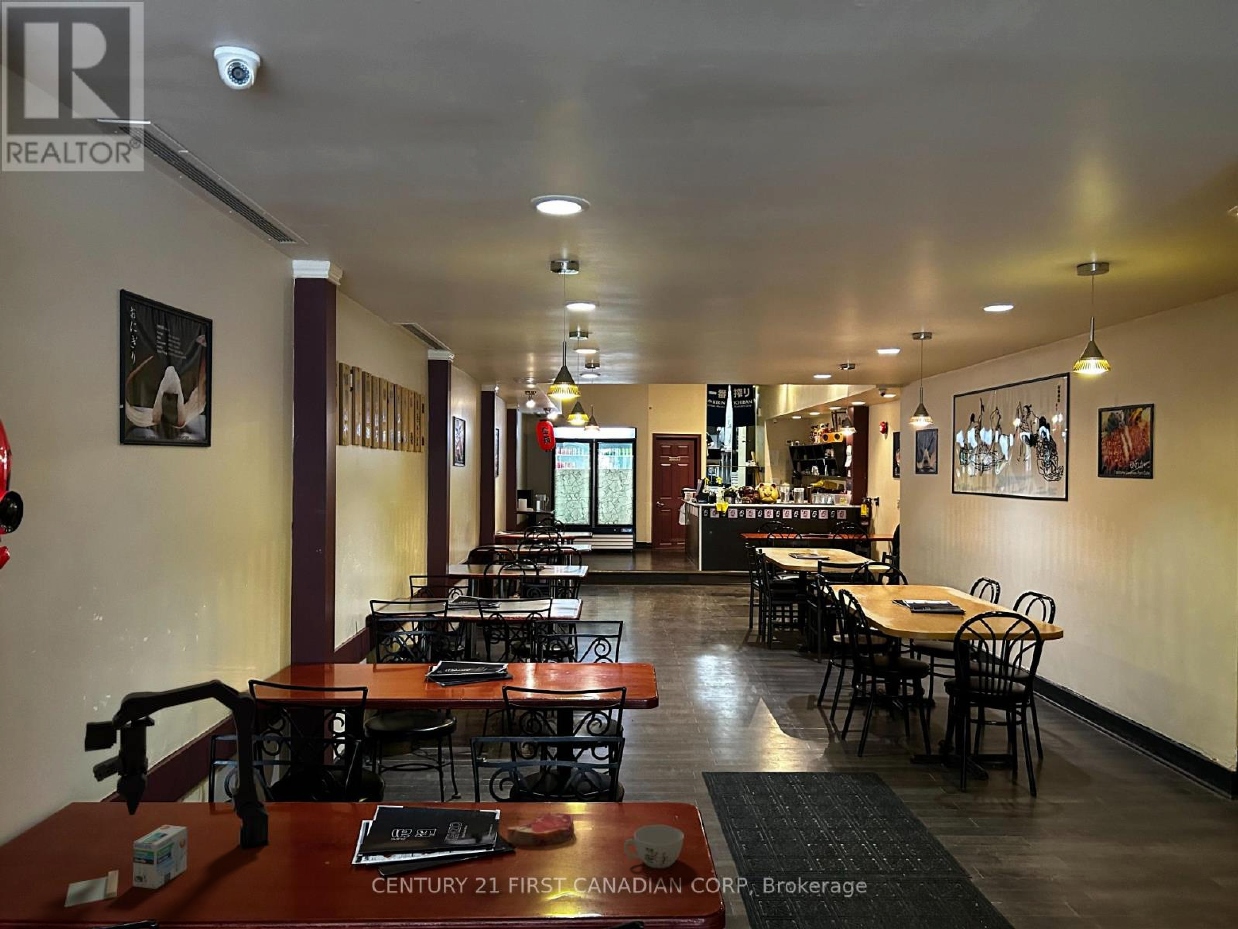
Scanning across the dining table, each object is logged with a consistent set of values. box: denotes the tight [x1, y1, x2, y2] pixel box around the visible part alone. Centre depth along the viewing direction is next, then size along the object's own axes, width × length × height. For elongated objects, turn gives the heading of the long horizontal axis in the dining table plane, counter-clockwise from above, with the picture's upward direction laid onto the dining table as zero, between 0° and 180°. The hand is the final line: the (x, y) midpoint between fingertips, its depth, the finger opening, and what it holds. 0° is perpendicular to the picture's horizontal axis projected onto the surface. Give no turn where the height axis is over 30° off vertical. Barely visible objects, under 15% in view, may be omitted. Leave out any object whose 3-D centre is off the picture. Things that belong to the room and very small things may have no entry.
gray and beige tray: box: [64, 869, 119, 908], centre depth 199 cm, size 10×12×2 cm
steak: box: [506, 812, 575, 847], centre depth 228 cm, size 25×21×6 cm
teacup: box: [623, 824, 685, 869], centre depth 214 cm, size 15×12×8 cm
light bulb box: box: [132, 824, 188, 890], centre depth 206 cm, size 11×7×11 cm, turn 168°
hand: (132, 808), depth 211 cm, fingers open, 9 cm apart
